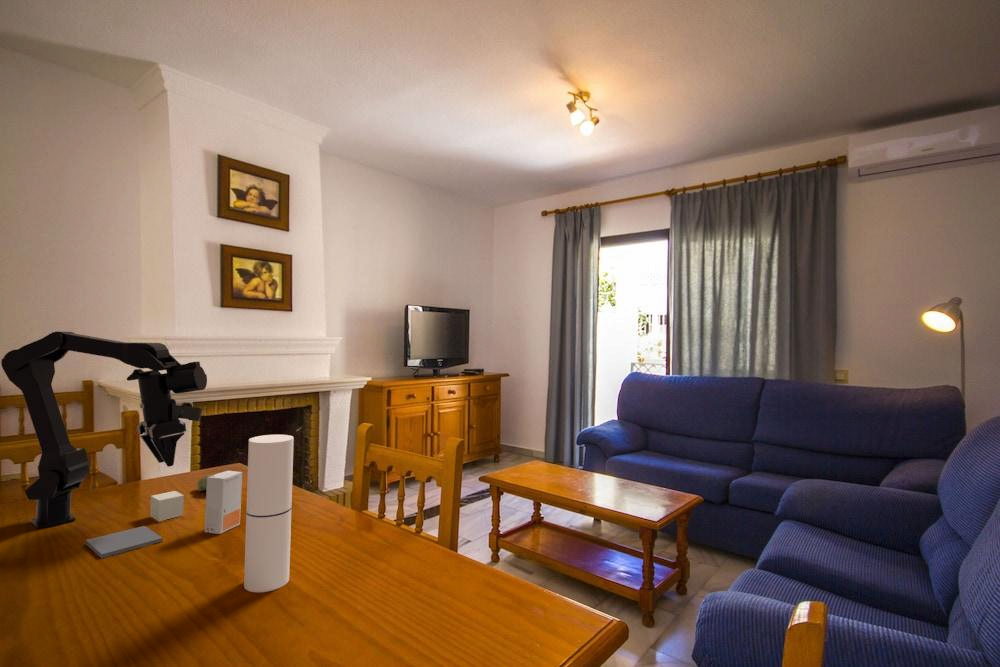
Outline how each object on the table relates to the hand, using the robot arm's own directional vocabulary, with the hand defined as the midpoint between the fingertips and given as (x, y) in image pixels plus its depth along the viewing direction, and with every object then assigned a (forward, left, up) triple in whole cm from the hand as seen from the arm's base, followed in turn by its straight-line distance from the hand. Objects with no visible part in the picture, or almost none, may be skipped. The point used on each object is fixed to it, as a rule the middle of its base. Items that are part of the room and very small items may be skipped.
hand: (166, 464), depth 113 cm
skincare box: (+15, +6, -13) cm, 21 cm away
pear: (-13, +16, -13) cm, 24 cm away
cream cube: (-2, +1, -13) cm, 13 cm away
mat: (+8, -10, -13) cm, 18 cm away
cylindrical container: (+45, 0, -13) cm, 47 cm away
